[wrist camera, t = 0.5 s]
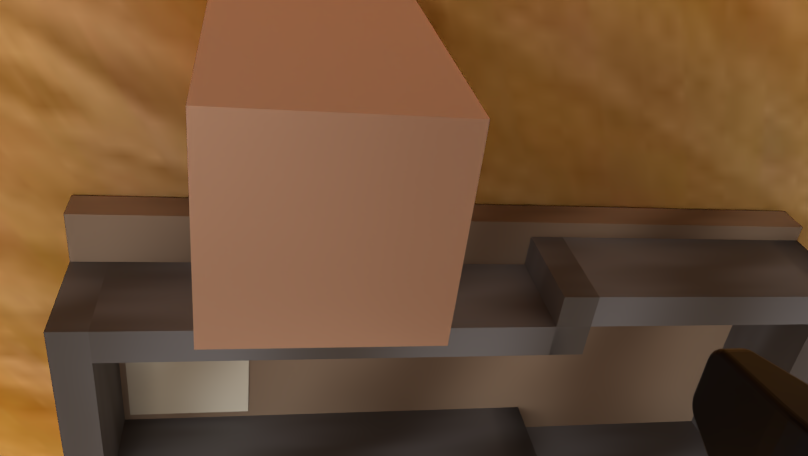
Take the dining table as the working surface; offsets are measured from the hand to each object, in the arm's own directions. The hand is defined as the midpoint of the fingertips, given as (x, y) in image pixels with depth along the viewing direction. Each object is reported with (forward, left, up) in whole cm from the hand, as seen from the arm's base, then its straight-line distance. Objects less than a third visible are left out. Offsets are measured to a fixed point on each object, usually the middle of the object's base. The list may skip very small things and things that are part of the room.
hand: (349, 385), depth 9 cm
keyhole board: (-5, +10, -13) cm, 17 cm away
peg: (0, 0, -13) cm, 13 cm away
